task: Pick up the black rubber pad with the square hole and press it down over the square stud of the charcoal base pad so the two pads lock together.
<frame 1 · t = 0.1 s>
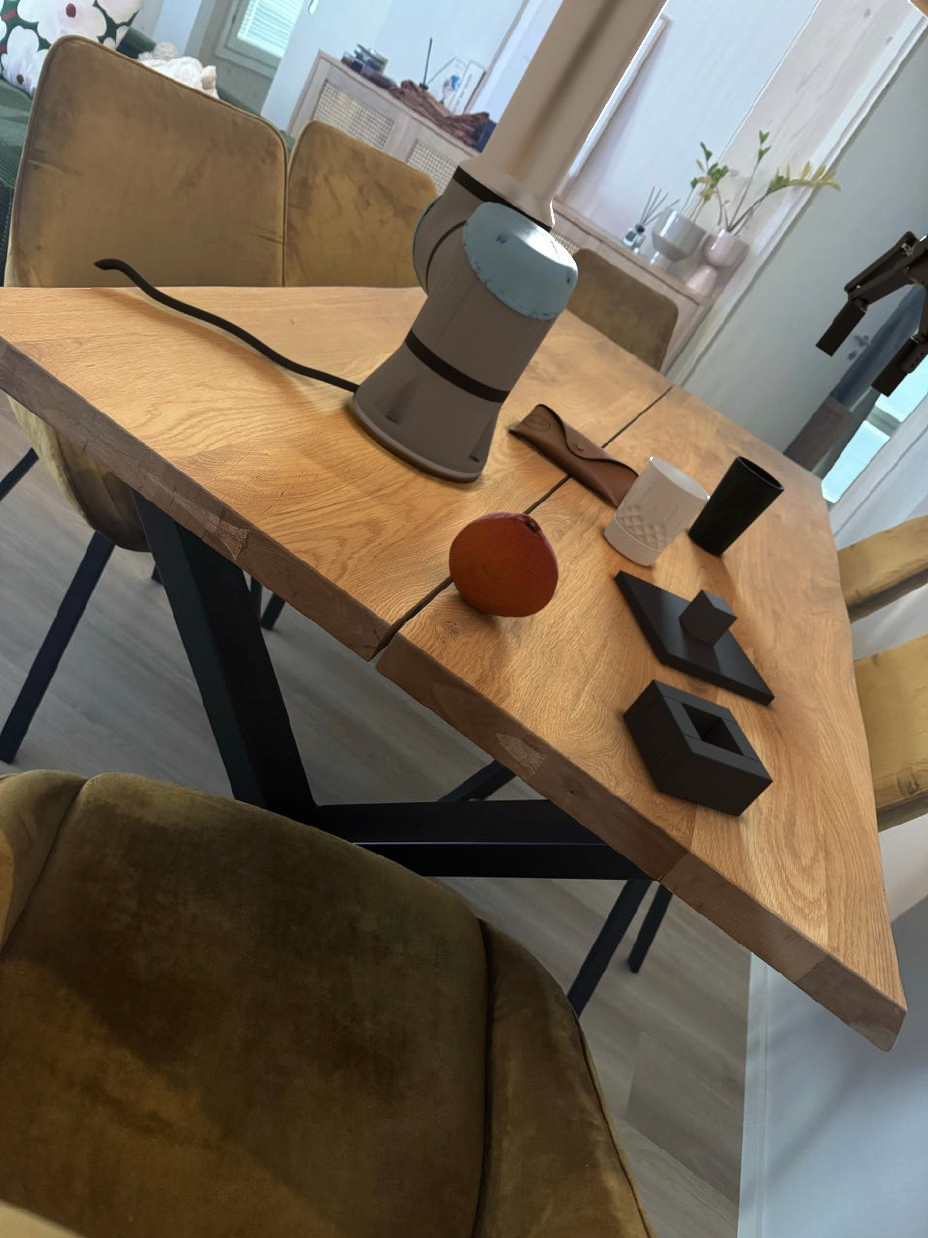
hand: (849, 370, 114), 28 cm above the table, tool pointing down, fingers open, 13 cm apart
cup: (703, 544, 125), on the table
white cup: (626, 549, 105), on the table
base pad: (688, 640, 92), on the table
sunglasses case: (568, 467, 119), on the table
fruit: (480, 603, 73), on the table
top pad: (679, 765, 69), on the table
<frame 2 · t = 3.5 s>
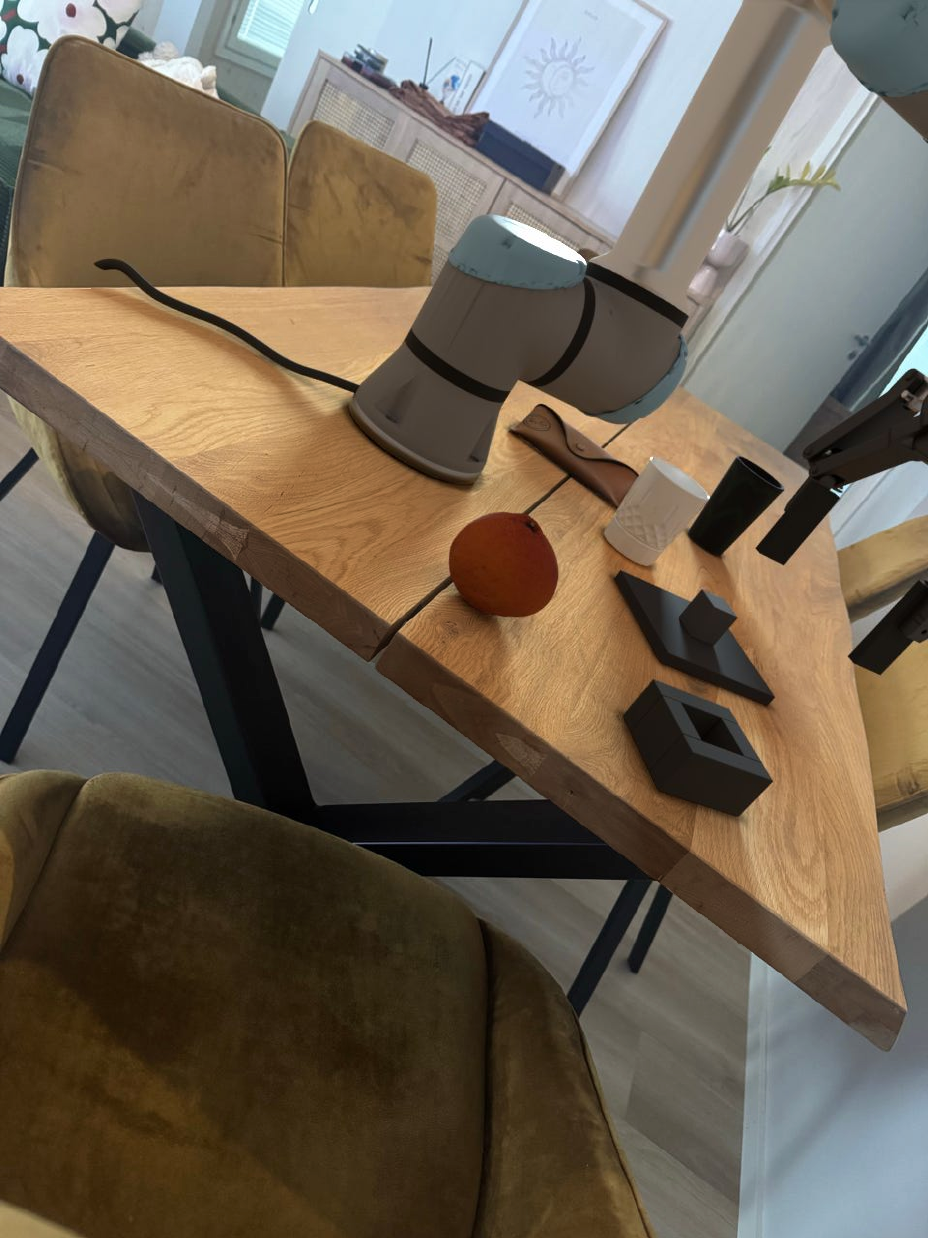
hand: (812, 607, 65), 15 cm above the table, tool pointing down, fingers open, 13 cm apart
nothing on the table moved.
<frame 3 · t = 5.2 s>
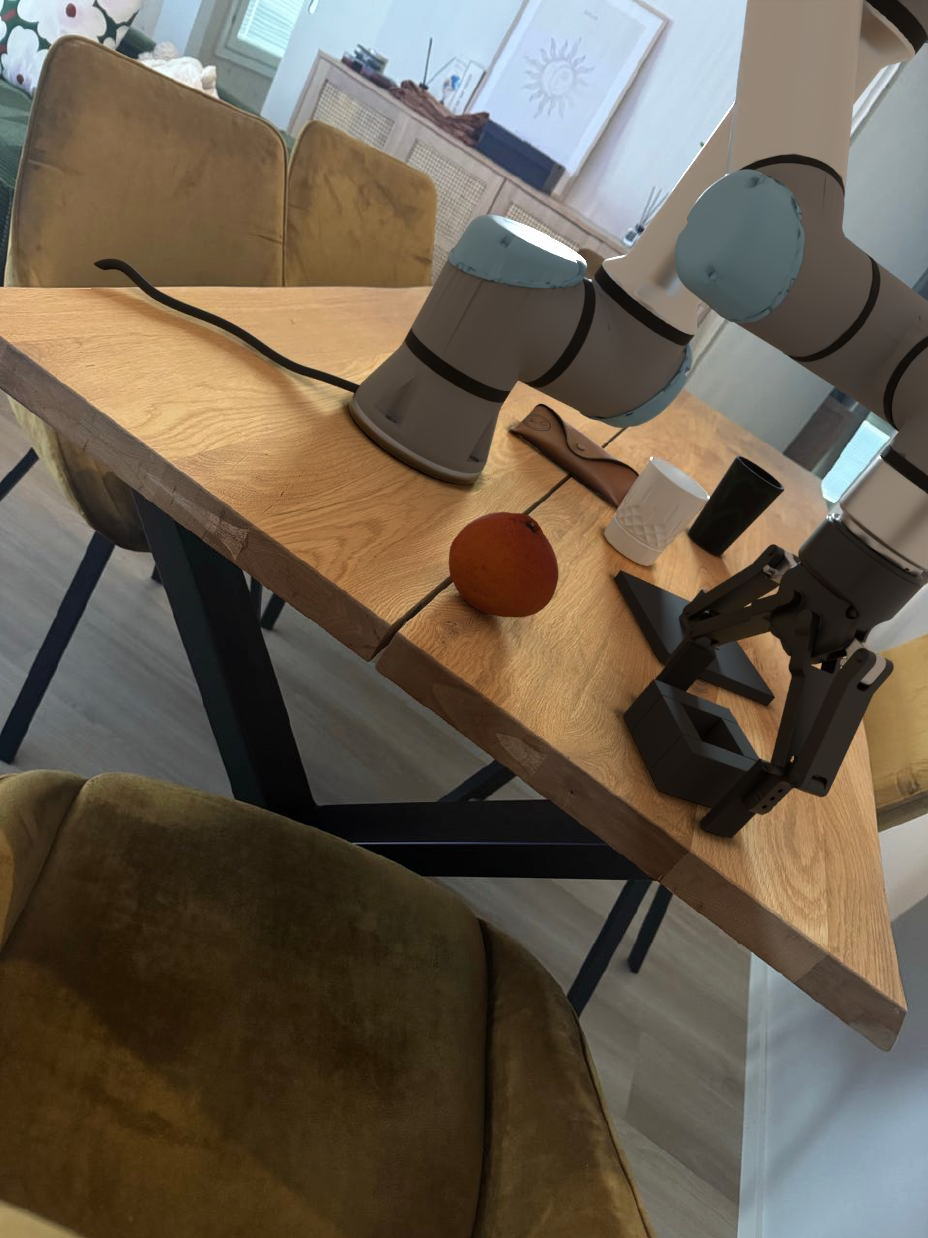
hand: (681, 764, 69), 0 cm above the table, tool pointing down, fingers open, 12 cm apart
nothing on the table moved.
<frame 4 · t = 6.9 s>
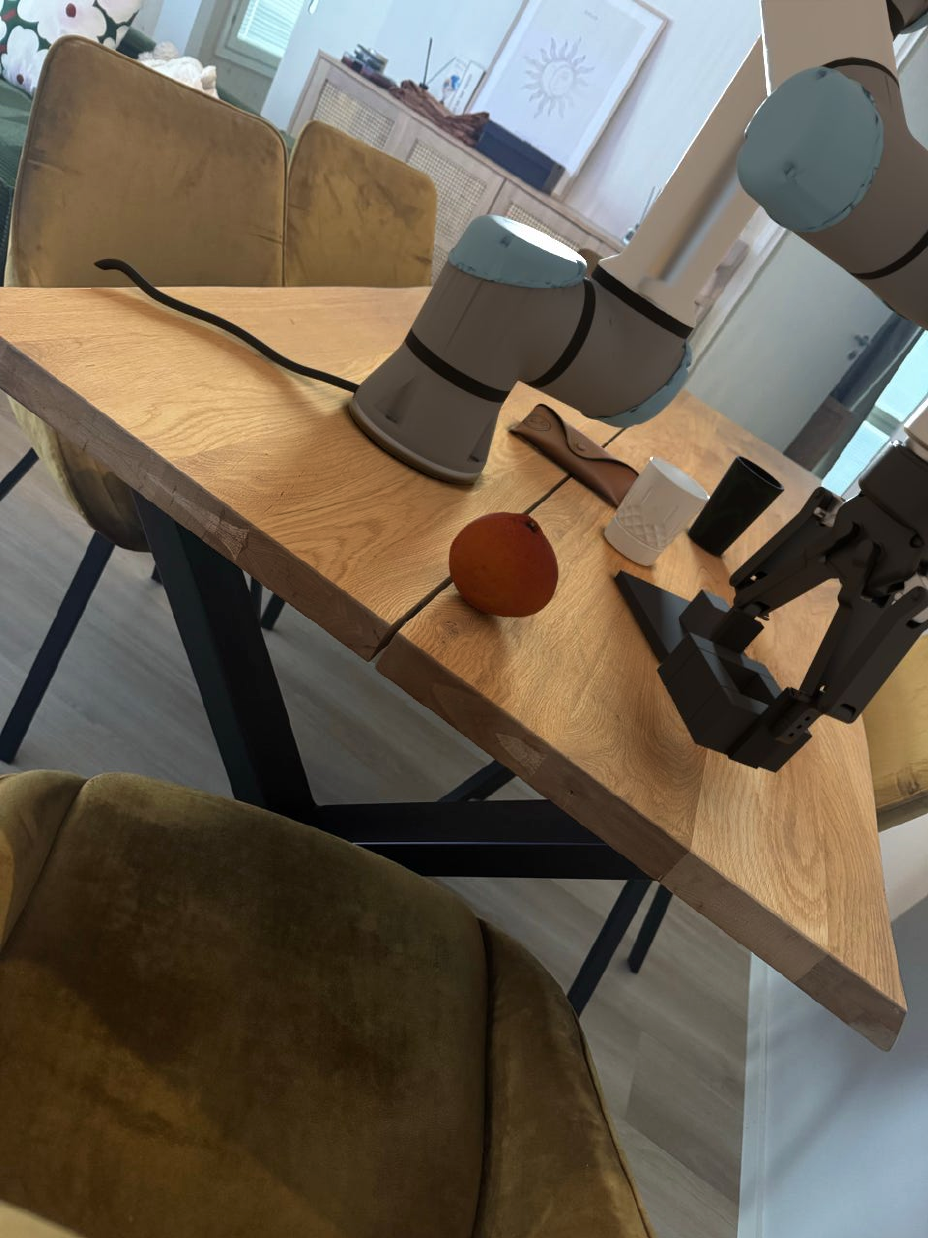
hand: (717, 718, 67), 5 cm above the table, tool pointing down, fingers closed on top pad, 8 cm apart
top pad: (714, 720, 67), point 5 cm above the table, touching gripper
everything else where it was.
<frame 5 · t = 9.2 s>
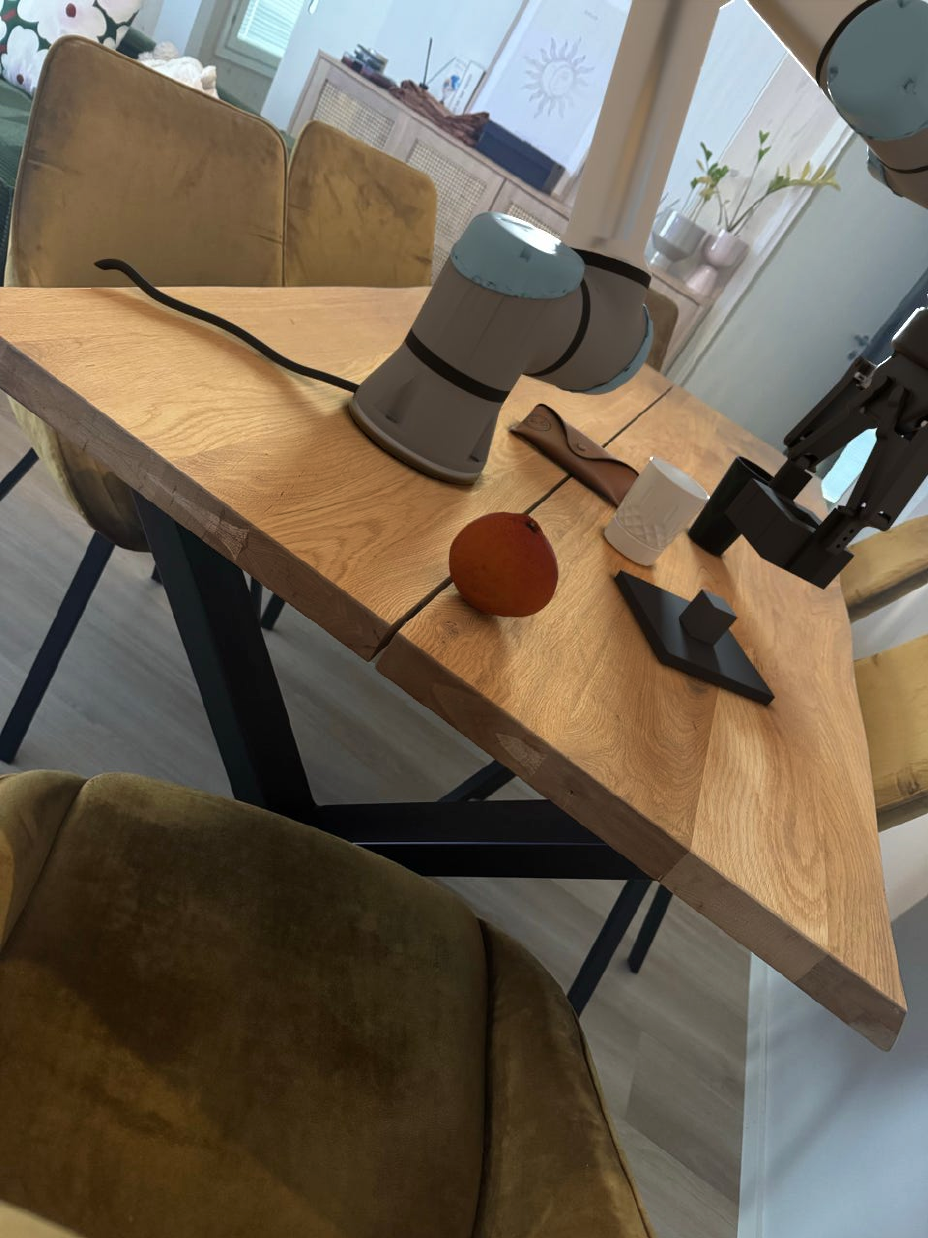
hand: (775, 548, 83), 13 cm above the table, tool pointing down, fingers closed on top pad, 8 cm apart
top pad: (773, 550, 83), point 13 cm above the table, touching gripper
everything else where it was.
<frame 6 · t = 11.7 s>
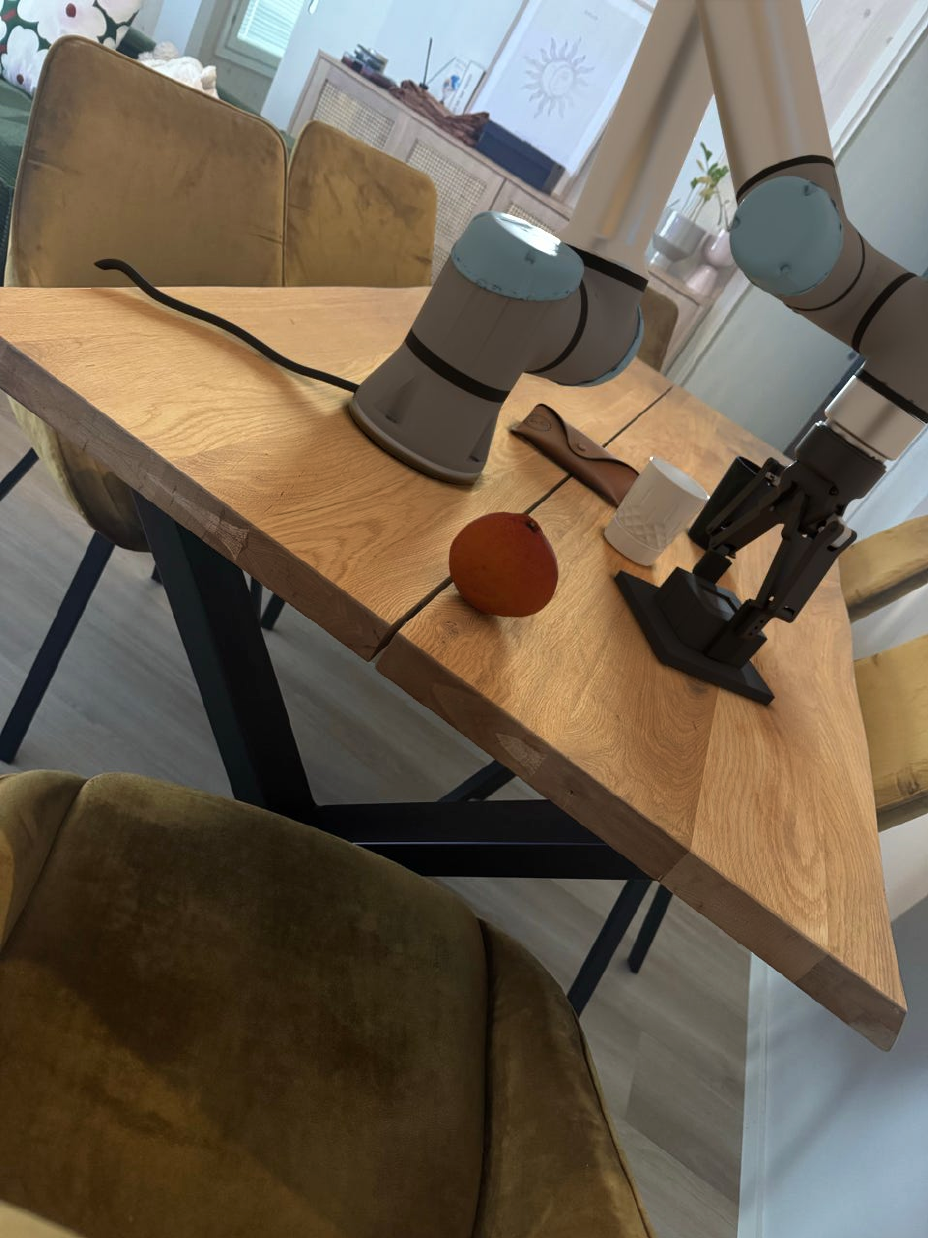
hand: (698, 630, 91), 1 cm above the table, tool pointing down, fingers closed on top pad, 8 cm apart
top pad: (696, 632, 91), point 1 cm above the table, touching base pad, gripper
everything else where it was.
when the fingers open (1 cm above the table, at t = 12.1 s): top pad stays where it is, resting on base pad.
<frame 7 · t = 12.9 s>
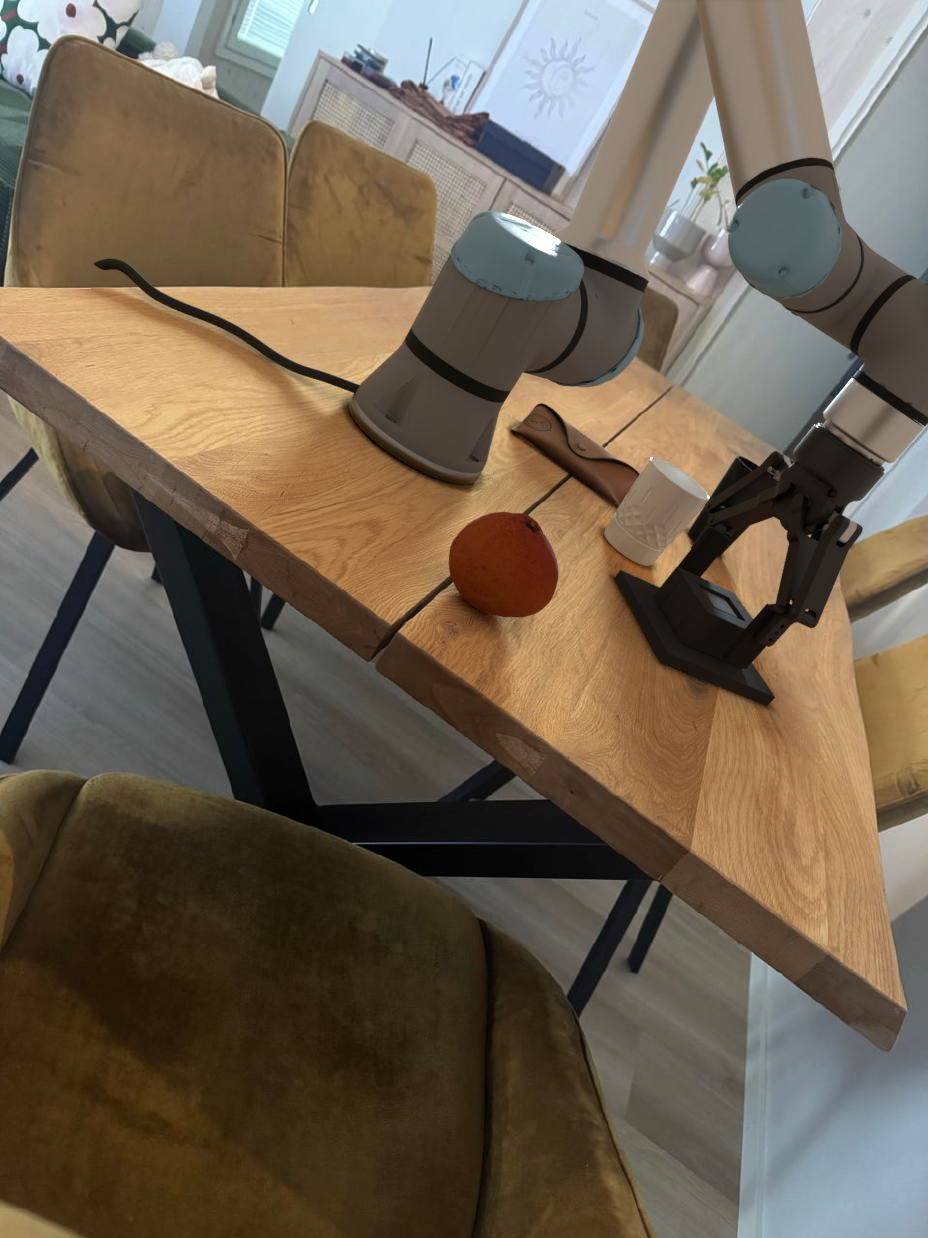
hand: (705, 620, 91), 3 cm above the table, tool pointing down, fingers open, 13 cm apart
top pad: (696, 632, 91), point 1 cm above the table, touching base pad
everything else where it was.
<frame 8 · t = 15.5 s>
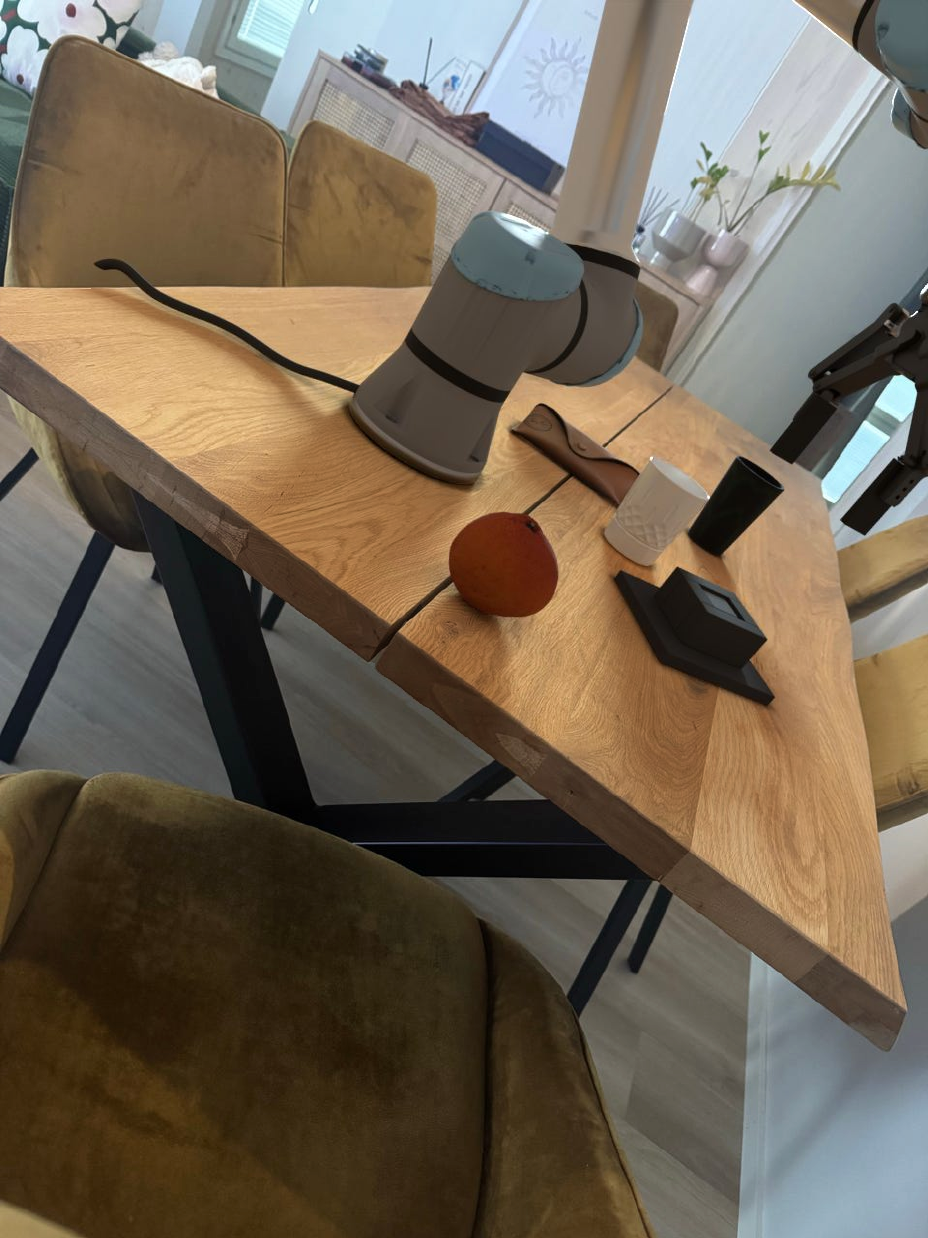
hand: (813, 490, 84), 19 cm above the table, tool pointing down, fingers open, 13 cm apart
nothing on the table moved.
at the end: top pad 0.1 cm off-centre on the base pad, point 1.2 cm above the base pad's base; top pad tilted 0°; the gripper is holding nothing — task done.
